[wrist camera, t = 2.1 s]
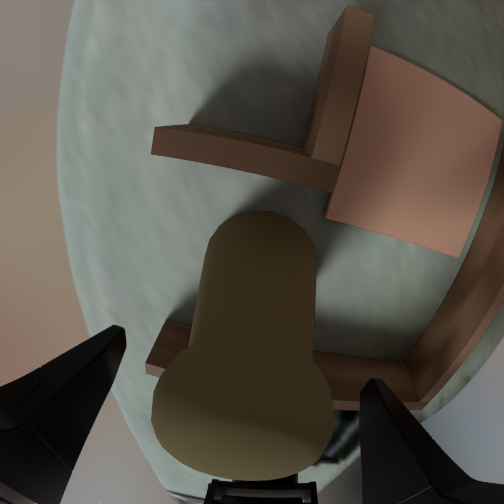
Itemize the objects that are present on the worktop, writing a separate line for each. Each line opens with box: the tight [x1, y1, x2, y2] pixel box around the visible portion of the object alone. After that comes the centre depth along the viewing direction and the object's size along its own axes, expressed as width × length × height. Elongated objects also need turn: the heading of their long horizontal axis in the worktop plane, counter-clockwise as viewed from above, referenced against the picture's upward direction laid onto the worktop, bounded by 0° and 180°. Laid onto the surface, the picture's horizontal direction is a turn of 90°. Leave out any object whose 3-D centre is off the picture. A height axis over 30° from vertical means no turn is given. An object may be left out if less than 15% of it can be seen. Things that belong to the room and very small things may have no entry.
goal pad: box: [325, 46, 502, 258], centre depth 12 cm, size 9×9×1 cm
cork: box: [151, 211, 335, 481], centre depth 11 cm, size 6×6×11 cm
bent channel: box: [145, 5, 504, 411], centre depth 12 cm, size 19×18×4 cm
